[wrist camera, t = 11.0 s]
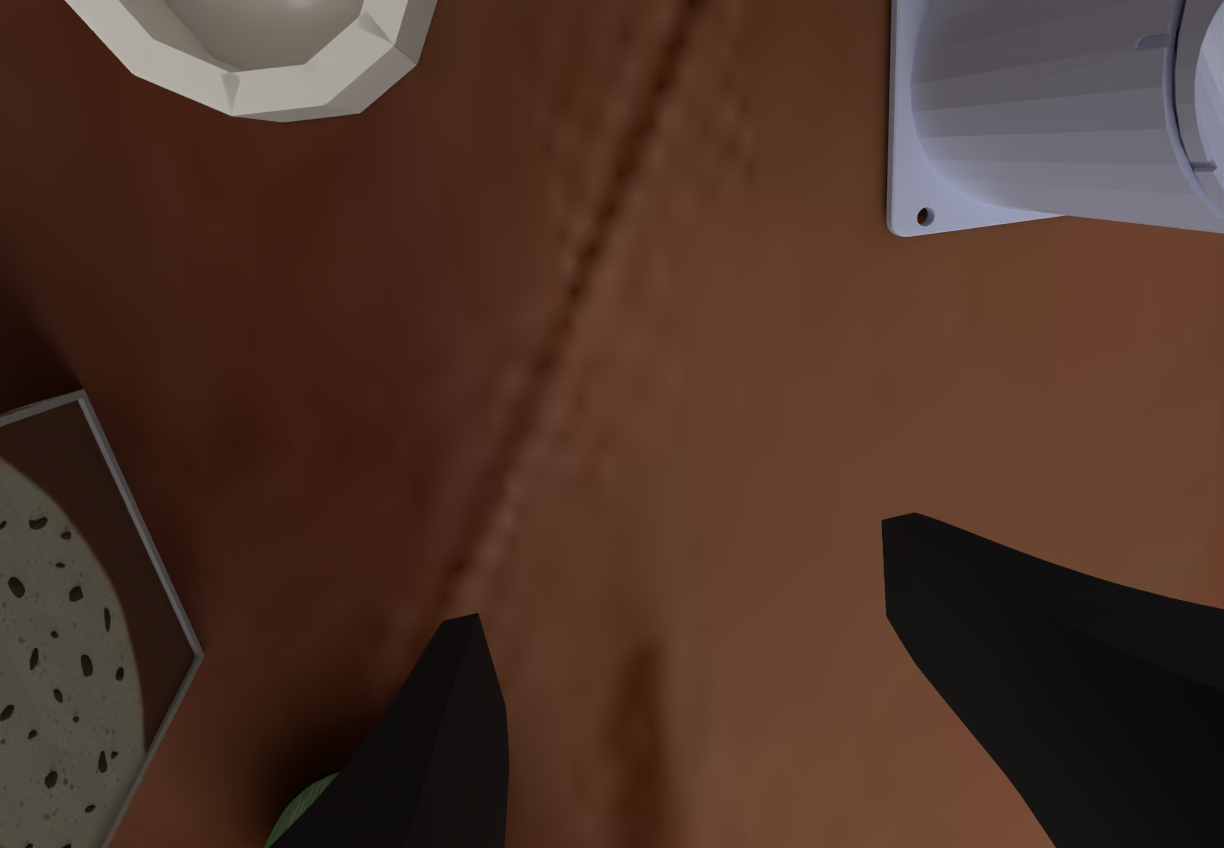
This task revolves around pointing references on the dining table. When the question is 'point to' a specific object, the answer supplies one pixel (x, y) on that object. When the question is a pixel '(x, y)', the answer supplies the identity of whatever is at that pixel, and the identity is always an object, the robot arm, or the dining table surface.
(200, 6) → the cup
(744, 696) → the dining table surface
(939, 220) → the robot arm
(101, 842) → the food container
